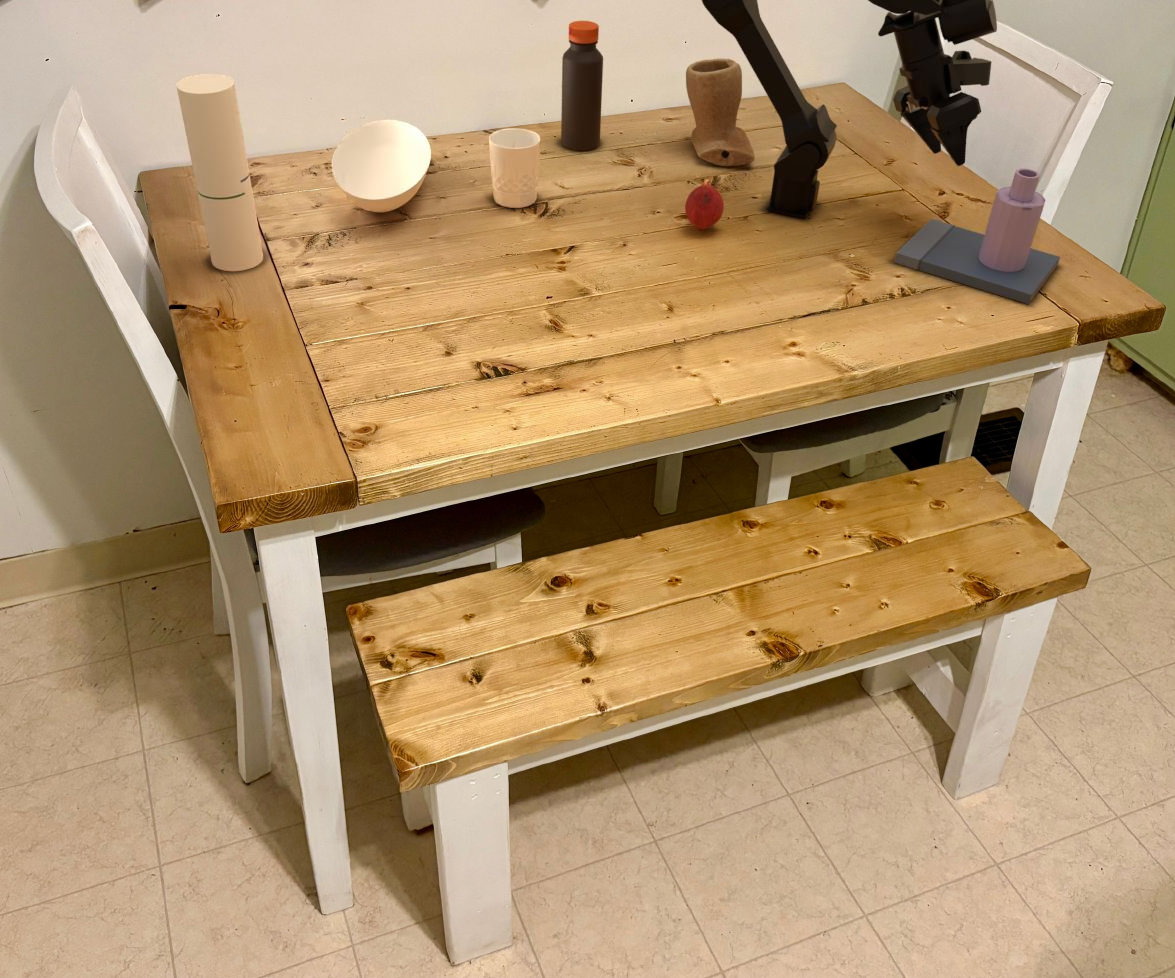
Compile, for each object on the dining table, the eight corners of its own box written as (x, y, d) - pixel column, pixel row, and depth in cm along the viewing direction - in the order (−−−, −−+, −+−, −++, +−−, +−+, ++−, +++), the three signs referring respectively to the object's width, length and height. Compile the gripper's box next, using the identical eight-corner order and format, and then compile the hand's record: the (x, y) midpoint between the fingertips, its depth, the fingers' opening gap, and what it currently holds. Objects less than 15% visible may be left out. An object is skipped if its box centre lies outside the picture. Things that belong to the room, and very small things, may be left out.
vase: (985, 271, 161) (1010, 182, 153) (973, 249, 166) (997, 162, 158) (1030, 272, 161) (1058, 184, 153) (1017, 251, 166) (1044, 164, 158)
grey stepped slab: (894, 262, 166) (896, 252, 165) (928, 228, 175) (931, 218, 174) (1028, 304, 157) (1031, 294, 156) (1057, 266, 167) (1060, 255, 166)
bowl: (428, 237, 167) (426, 199, 163) (326, 237, 166) (321, 199, 162) (436, 155, 190) (434, 119, 186) (346, 154, 189) (342, 119, 185)
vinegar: (586, 154, 192) (589, 34, 179) (553, 145, 195) (554, 26, 182) (607, 142, 197) (612, 24, 184) (575, 132, 199) (577, 15, 187)
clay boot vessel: (677, 133, 201) (684, 48, 191) (743, 135, 201) (754, 50, 191) (683, 169, 189) (692, 79, 179) (754, 170, 189) (766, 81, 180)
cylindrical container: (272, 252, 162) (245, 78, 146) (245, 275, 157) (213, 96, 141) (229, 243, 164) (197, 70, 148) (201, 265, 158) (164, 88, 142)
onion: (718, 240, 169) (724, 190, 164) (680, 235, 170) (685, 186, 165) (722, 223, 174) (728, 174, 169) (685, 219, 175) (690, 170, 169)
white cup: (481, 204, 176) (479, 142, 170) (503, 184, 182) (502, 124, 176) (527, 214, 174) (527, 151, 168) (548, 194, 180) (548, 133, 173)
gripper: (1004, 37, 149) (1029, 147, 157) (951, 24, 166) (975, 124, 173) (925, 72, 151) (953, 180, 158) (880, 56, 167) (907, 155, 174)
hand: (949, 158), depth 166 cm, fingers open, 9 cm apart
